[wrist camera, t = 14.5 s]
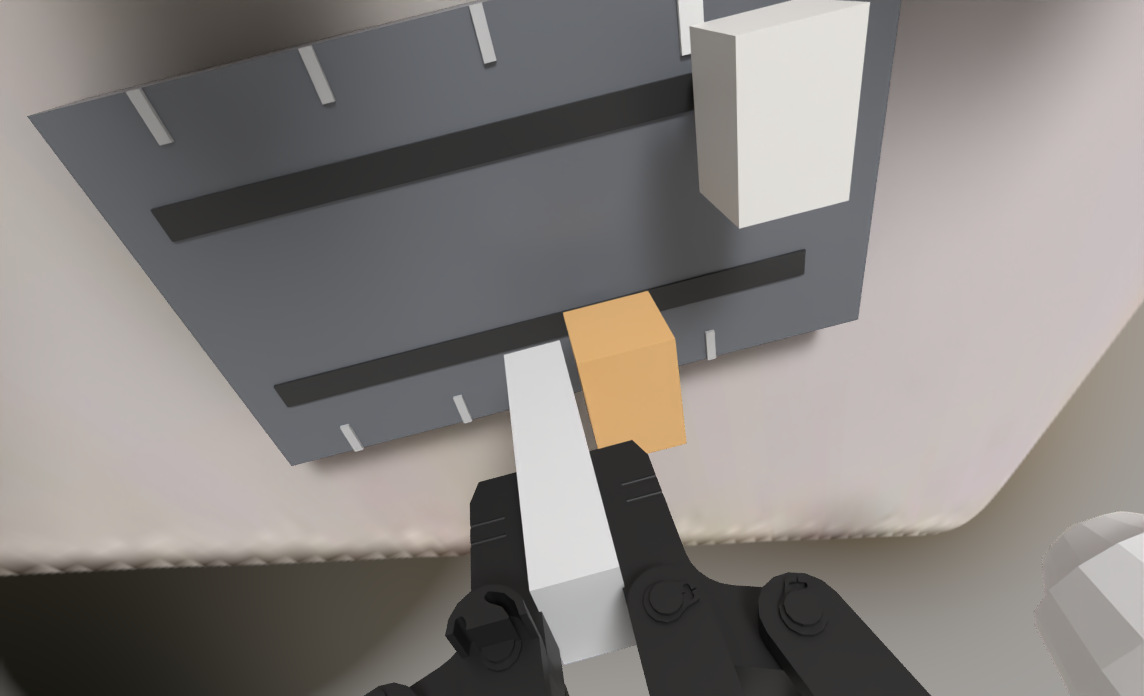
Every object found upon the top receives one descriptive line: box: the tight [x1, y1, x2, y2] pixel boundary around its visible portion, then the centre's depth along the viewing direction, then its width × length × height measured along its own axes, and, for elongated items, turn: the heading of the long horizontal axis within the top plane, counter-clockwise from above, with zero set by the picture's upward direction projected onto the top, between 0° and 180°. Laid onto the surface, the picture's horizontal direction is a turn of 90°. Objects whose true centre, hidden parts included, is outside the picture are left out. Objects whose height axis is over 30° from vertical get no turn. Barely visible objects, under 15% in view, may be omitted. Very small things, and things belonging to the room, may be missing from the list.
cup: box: [1034, 511, 1144, 696], centre depth 15 cm, size 7×7×21 cm
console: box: [27, 0, 901, 466], centre depth 17 cm, size 21×12×2 cm, turn 102°
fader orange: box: [563, 291, 686, 454], centre depth 15 cm, size 2×4×4 cm, turn 11°
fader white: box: [689, 0, 870, 229], centre depth 12 cm, size 2×4×4 cm, turn 12°
